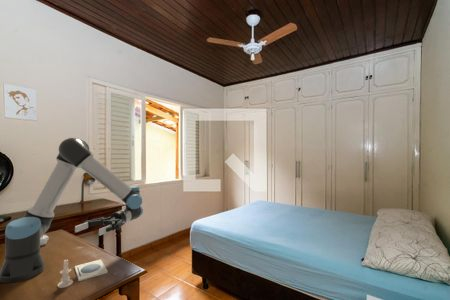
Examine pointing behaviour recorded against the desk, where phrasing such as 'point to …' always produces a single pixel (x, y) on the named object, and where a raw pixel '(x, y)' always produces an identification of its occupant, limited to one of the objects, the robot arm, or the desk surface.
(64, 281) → the white stepped tower
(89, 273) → the cream rectangular board
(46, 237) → the figurine
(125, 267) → the desk surface
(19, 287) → the desk surface
